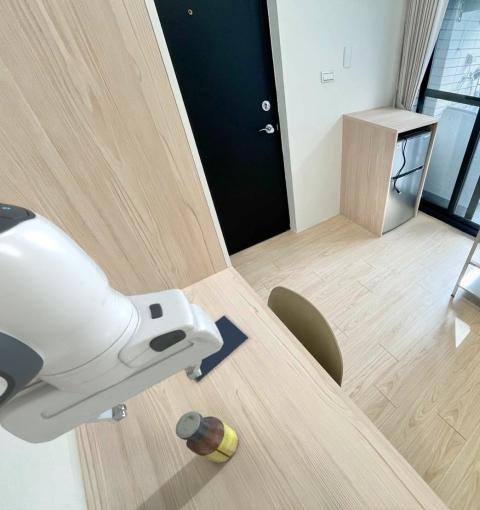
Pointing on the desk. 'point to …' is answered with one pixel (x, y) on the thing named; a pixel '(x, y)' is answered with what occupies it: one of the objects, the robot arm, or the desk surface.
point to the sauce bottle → (207, 436)
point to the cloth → (230, 342)
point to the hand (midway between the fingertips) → (160, 393)
